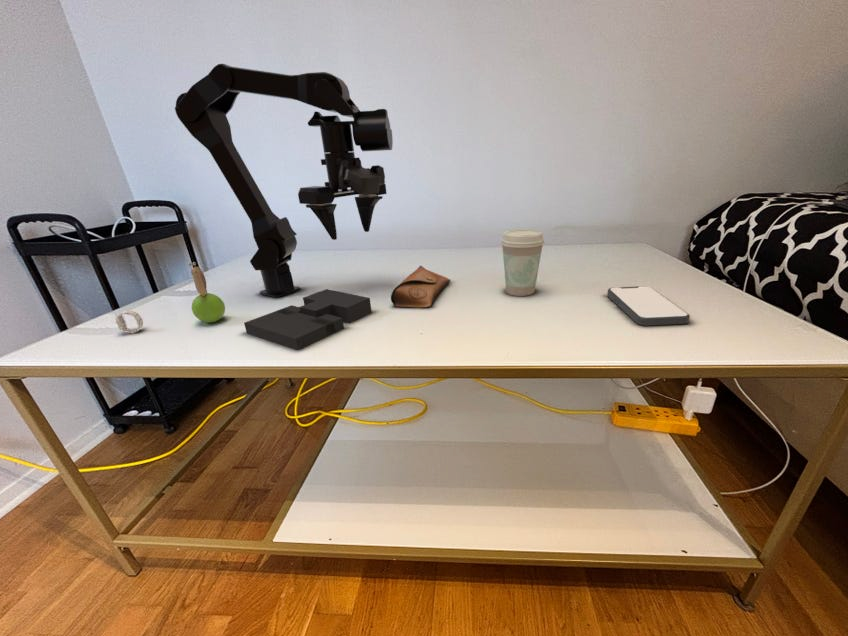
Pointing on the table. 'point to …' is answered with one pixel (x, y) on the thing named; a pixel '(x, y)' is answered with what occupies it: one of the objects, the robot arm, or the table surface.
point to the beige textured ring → (122, 324)
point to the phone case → (647, 306)
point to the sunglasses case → (418, 289)
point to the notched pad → (293, 327)
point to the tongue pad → (336, 305)
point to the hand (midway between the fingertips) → (351, 235)
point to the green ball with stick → (205, 299)
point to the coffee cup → (521, 260)
